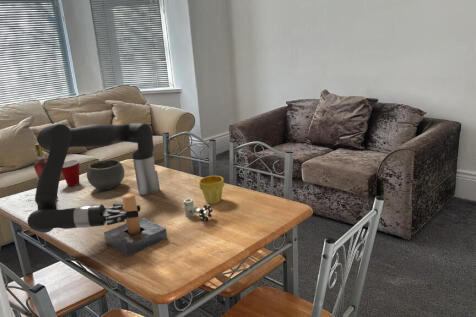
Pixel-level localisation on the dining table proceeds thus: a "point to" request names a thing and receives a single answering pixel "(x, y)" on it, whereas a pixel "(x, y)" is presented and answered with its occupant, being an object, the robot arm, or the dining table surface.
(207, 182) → the plant pot
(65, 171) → the plastic cup
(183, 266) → the dining table surface
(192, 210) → the valve
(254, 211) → the dining table surface
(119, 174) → the bowl
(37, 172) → the sauce bottle
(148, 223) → the socket block
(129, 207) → the peg
